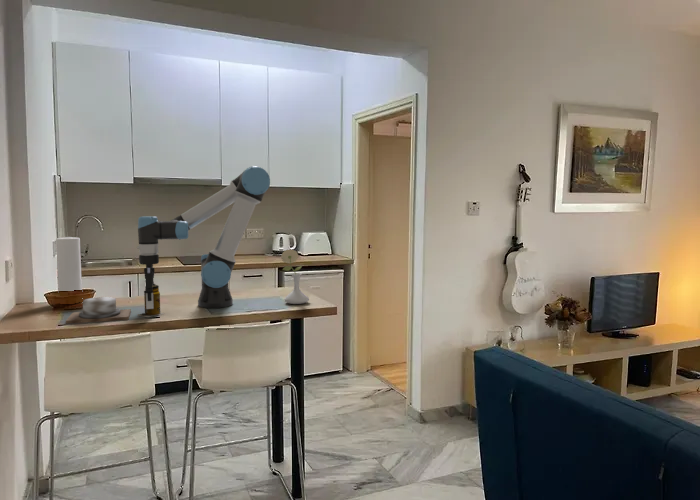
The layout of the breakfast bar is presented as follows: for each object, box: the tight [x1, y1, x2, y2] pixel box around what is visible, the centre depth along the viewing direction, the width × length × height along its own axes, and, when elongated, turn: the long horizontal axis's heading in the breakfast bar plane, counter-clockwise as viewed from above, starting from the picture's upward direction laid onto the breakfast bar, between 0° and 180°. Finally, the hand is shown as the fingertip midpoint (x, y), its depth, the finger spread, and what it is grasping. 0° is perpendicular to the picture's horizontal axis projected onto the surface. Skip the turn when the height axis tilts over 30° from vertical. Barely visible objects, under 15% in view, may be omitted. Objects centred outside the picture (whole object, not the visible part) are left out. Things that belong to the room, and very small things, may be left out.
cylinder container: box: [55, 236, 83, 292], centre depth 239 cm, size 9×9×30 cm
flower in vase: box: [280, 248, 310, 305], centre depth 241 cm, size 13×11×25 cm
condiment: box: [136, 284, 165, 318], centre depth 217 cm, size 7×8×12 cm
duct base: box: [65, 296, 132, 325], centre depth 211 cm, size 22×15×7 cm
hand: (150, 305), depth 217 cm, fingers open, 13 cm apart
